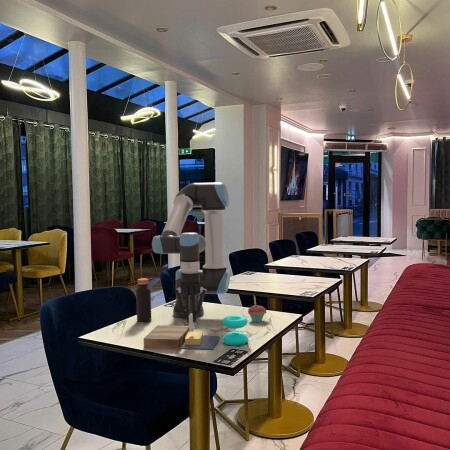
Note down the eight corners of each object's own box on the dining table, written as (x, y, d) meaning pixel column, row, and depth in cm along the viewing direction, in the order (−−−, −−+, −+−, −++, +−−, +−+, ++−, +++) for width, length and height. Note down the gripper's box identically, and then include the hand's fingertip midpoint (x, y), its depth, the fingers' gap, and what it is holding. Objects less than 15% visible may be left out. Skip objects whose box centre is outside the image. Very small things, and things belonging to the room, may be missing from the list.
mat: (190, 336, 193) (190, 335, 192) (220, 337, 191) (220, 335, 190) (181, 348, 177) (180, 347, 177) (213, 349, 175) (212, 348, 175)
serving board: (157, 334, 196) (157, 325, 196) (190, 335, 194) (189, 326, 193) (143, 348, 178) (143, 338, 178) (179, 349, 176) (178, 339, 176)
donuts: (242, 322, 176) (218, 320, 180) (243, 347, 177) (219, 345, 180) (250, 315, 185) (227, 313, 189) (251, 339, 186) (228, 337, 190)
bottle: (153, 319, 220) (152, 278, 219) (147, 323, 213) (146, 280, 212) (140, 318, 222) (139, 277, 221) (134, 322, 215) (132, 280, 214)
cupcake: (244, 320, 215) (243, 295, 214) (258, 317, 220) (257, 292, 219) (256, 324, 208) (255, 298, 207) (270, 321, 213) (269, 295, 212)
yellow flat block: (188, 337, 189) (188, 331, 189) (203, 337, 188) (202, 331, 188) (184, 344, 180) (184, 338, 180) (200, 344, 180) (200, 338, 179)
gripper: (171, 273, 180) (173, 332, 181) (204, 273, 178) (205, 333, 179) (176, 270, 187) (178, 327, 189) (208, 270, 185) (209, 328, 187)
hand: (191, 330), depth 184 cm, fingers closed
